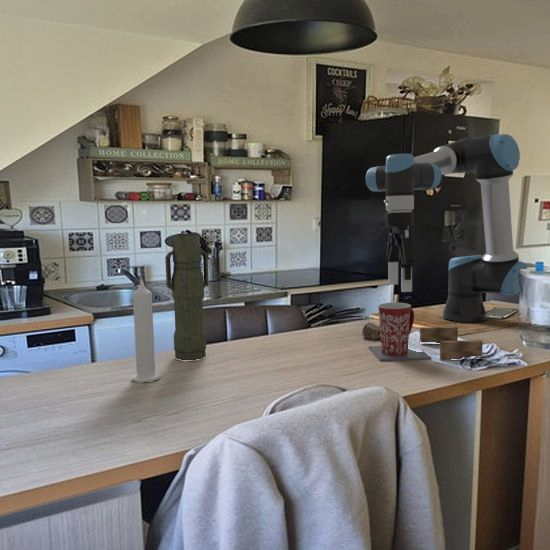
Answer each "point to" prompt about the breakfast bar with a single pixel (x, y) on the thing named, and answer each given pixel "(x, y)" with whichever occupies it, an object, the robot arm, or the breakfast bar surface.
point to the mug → (395, 327)
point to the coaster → (408, 356)
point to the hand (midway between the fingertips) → (399, 288)
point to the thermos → (188, 295)
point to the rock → (371, 331)
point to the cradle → (451, 342)
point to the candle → (144, 336)
